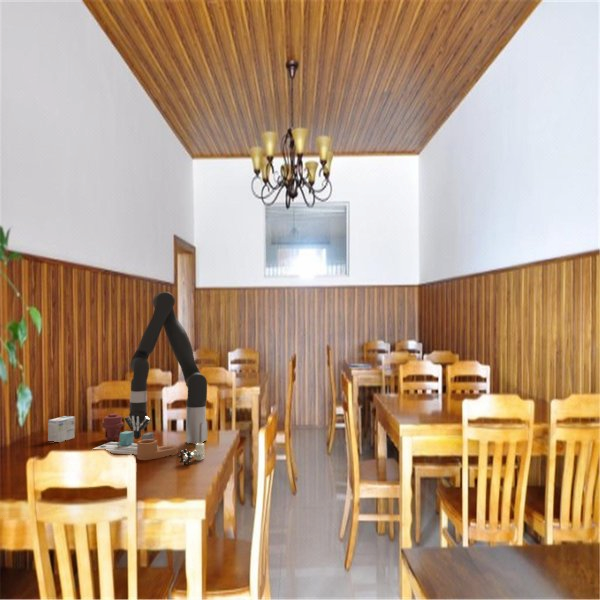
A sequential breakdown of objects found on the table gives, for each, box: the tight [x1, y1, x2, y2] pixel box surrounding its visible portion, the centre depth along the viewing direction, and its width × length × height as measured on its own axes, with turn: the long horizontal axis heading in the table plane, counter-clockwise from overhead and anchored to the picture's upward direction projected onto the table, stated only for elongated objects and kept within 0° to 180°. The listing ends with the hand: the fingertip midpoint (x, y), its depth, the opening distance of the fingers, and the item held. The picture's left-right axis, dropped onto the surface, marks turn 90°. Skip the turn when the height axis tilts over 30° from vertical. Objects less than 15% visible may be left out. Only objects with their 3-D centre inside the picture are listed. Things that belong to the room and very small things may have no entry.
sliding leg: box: [117, 430, 135, 448], centre depth 224 cm, size 4×9×5 cm, turn 165°
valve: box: [177, 442, 206, 466], centre depth 204 cm, size 7×7×12 cm
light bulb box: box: [47, 415, 76, 443], centre depth 241 cm, size 11×7×11 cm, turn 160°
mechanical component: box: [101, 413, 125, 442], centre depth 242 cm, size 12×10×10 cm
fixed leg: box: [141, 431, 155, 440], centre depth 221 cm, size 3×9×6 cm, turn 165°
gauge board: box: [92, 441, 159, 456], centre depth 223 cm, size 25×13×2 cm, turn 75°
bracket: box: [136, 438, 179, 461], centre depth 214 cm, size 18×8×7 cm, turn 129°
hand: (137, 438), depth 225 cm, fingers closed
